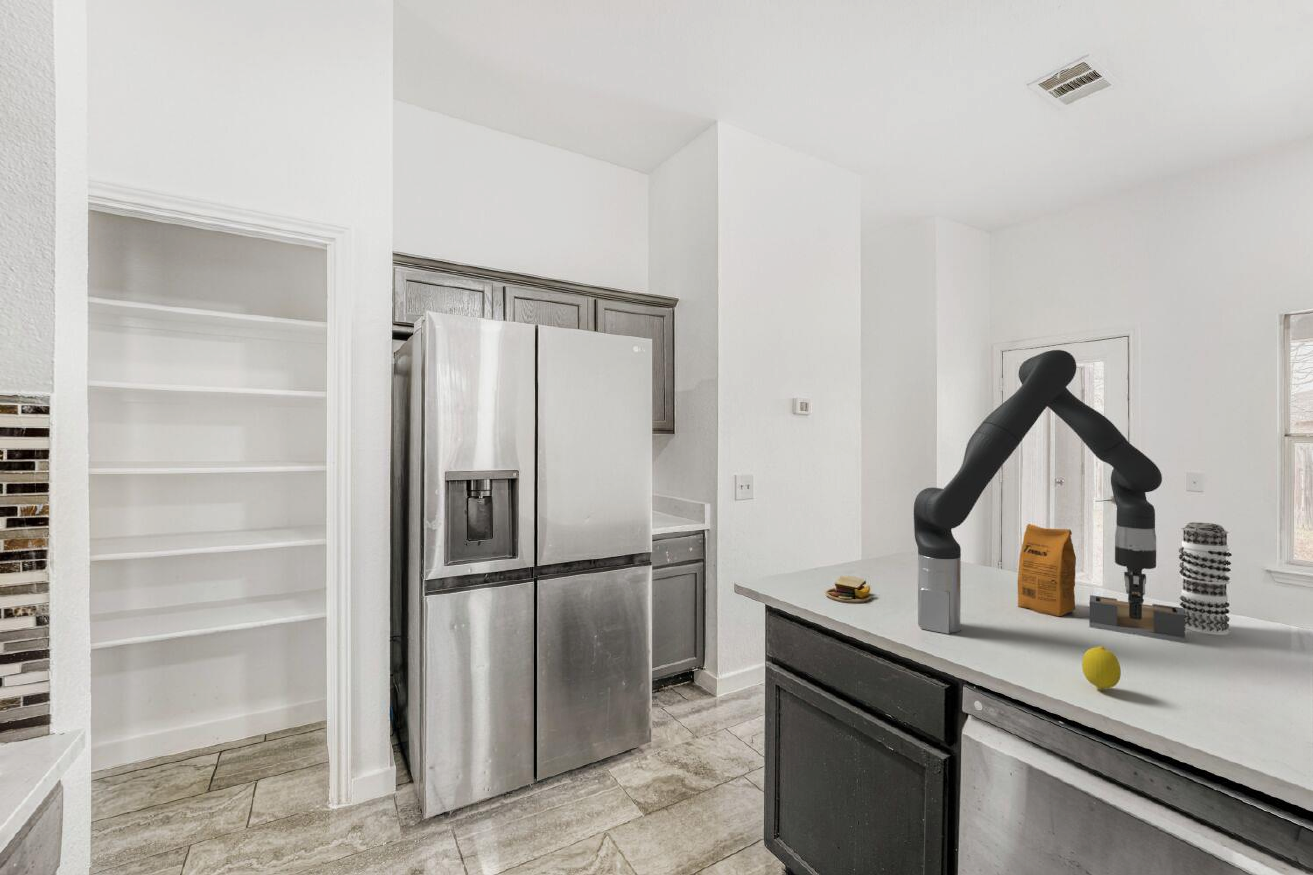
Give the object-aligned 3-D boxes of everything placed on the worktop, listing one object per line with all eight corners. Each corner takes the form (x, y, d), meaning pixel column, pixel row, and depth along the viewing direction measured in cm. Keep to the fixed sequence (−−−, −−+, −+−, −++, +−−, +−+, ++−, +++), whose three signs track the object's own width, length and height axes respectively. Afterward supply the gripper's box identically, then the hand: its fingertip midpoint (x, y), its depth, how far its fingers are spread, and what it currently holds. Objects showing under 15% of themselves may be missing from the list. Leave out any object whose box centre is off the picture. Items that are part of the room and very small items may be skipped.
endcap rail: (1185, 642, 127) (1185, 615, 127) (1089, 626, 138) (1089, 601, 138) (1181, 632, 134) (1181, 607, 134) (1090, 618, 144) (1090, 594, 144)
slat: (1172, 633, 131) (1172, 611, 131) (1100, 621, 139) (1100, 600, 139) (1171, 629, 133) (1171, 608, 133) (1100, 618, 141) (1100, 598, 141)
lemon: (1074, 684, 107) (1074, 641, 107) (1102, 683, 107) (1102, 640, 107) (1099, 697, 101) (1100, 652, 101) (1128, 696, 102) (1129, 651, 102)
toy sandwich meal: (816, 598, 163) (816, 581, 163) (840, 588, 173) (840, 573, 173) (858, 607, 154) (858, 589, 154) (880, 597, 164) (880, 580, 164)
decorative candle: (1230, 628, 137) (1231, 523, 136) (1232, 638, 130) (1233, 528, 130) (1178, 619, 143) (1179, 519, 143) (1177, 629, 136) (1178, 524, 136)
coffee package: (1032, 600, 159) (1033, 521, 159) (1082, 613, 148) (1082, 528, 148) (1010, 605, 155) (1010, 524, 155) (1059, 618, 144) (1059, 531, 144)
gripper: (1114, 539, 144) (1114, 604, 144) (1115, 548, 132) (1114, 618, 132) (1154, 543, 139) (1153, 610, 139) (1158, 552, 128) (1157, 625, 128)
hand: (1134, 614), depth 136 cm, fingers open, 8 cm apart
